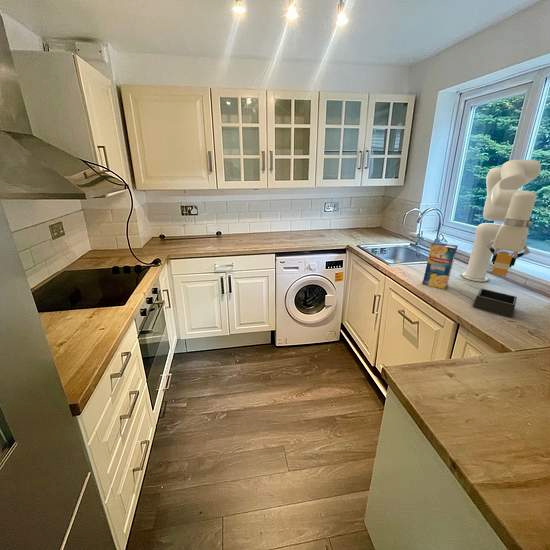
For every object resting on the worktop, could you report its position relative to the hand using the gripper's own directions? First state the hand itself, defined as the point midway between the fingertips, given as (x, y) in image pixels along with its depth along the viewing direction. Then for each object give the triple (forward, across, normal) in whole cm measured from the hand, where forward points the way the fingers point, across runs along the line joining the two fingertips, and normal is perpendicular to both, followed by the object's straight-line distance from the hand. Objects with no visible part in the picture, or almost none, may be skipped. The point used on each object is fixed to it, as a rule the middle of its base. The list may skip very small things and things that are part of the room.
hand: (502, 264), depth 123 cm
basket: (+20, -2, 0) cm, 20 cm away
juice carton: (+4, 0, 0) cm, 4 cm away
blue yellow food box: (+20, +25, -11) cm, 34 cm away
